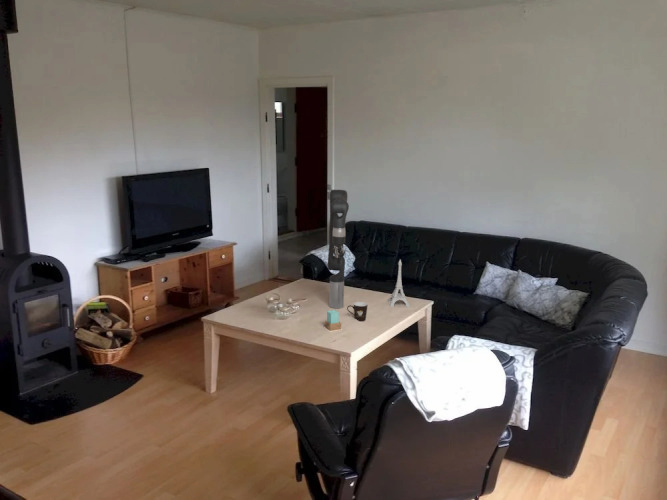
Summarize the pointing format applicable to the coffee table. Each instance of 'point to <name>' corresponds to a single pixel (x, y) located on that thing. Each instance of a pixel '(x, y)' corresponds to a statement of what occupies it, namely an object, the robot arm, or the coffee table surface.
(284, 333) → the coffee table surface
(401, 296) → the eiffel tower
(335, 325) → the walnut block
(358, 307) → the coffee mug
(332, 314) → the teal block
